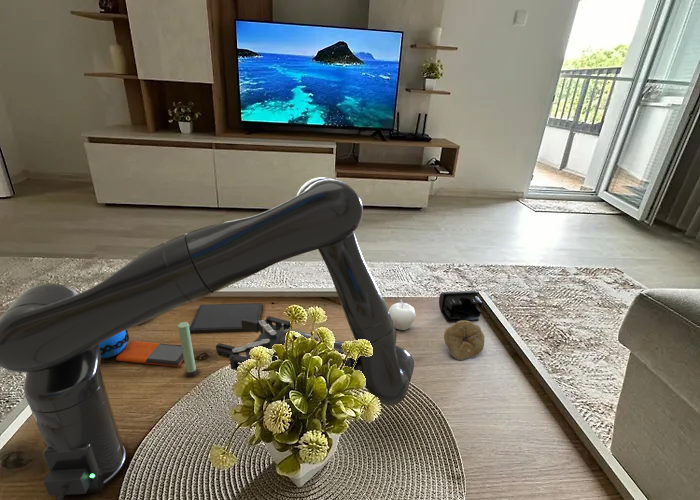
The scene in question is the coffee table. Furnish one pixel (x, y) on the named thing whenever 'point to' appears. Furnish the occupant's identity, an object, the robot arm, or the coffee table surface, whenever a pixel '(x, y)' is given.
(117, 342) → the ornament
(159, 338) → the coffee table surface
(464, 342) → the fossil
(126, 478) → the coffee table surface
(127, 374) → the coffee table surface
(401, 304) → the apple
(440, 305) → the end cap
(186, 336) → the stylus
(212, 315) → the tablet
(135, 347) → the phone
